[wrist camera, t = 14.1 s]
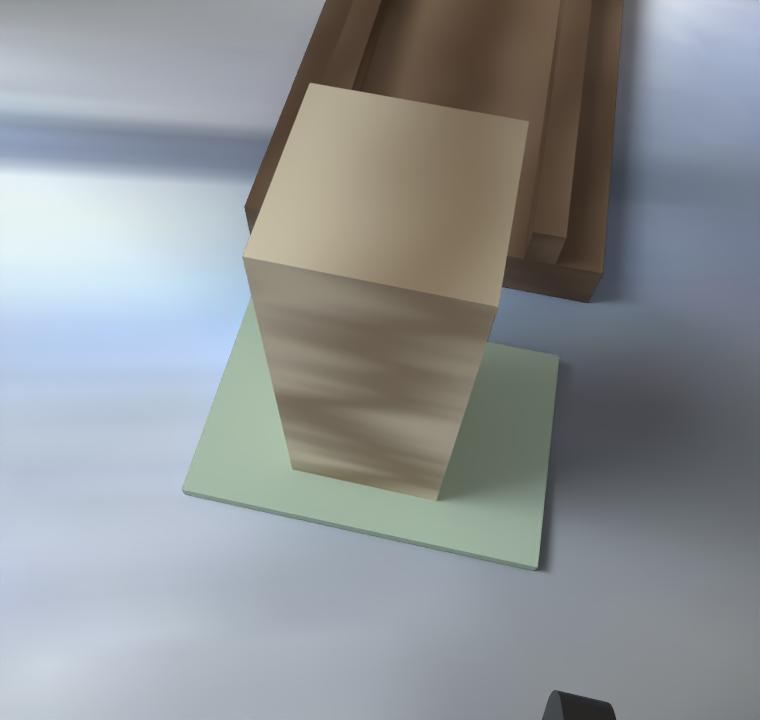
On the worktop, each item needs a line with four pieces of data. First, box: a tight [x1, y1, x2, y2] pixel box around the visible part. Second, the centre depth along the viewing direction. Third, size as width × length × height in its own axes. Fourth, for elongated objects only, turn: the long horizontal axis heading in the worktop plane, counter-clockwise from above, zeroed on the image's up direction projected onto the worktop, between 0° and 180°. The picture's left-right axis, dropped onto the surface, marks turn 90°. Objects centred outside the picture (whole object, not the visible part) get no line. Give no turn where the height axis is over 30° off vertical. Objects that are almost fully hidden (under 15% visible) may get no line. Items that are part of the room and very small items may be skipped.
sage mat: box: [182, 296, 560, 571], centre depth 25 cm, size 12×8×1 cm, turn 78°
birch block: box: [242, 83, 529, 501], centre depth 20 cm, size 5×5×12 cm
